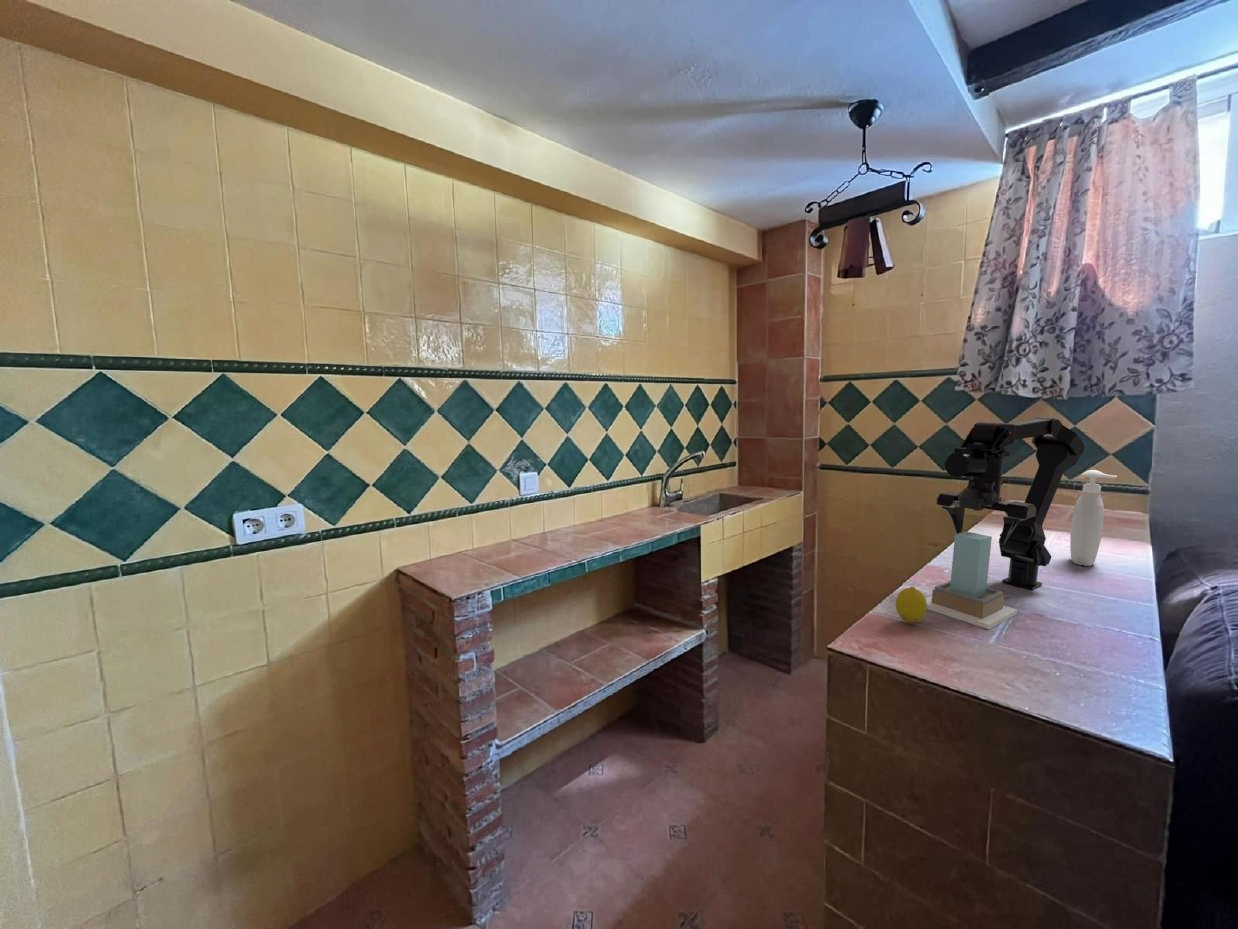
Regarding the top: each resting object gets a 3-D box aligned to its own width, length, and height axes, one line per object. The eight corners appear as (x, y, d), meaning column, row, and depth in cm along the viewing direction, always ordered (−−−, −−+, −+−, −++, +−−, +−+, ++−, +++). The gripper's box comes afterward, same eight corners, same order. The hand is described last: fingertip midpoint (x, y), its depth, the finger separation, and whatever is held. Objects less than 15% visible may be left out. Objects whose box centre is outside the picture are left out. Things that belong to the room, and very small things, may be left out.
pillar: (960, 586, 115) (966, 531, 113) (985, 594, 110) (991, 536, 109) (949, 591, 112) (955, 534, 110) (974, 598, 108) (980, 539, 106)
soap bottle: (1106, 572, 137) (1120, 474, 133) (1067, 566, 142) (1078, 471, 138) (1103, 560, 147) (1115, 469, 144) (1066, 554, 153) (1077, 466, 149)
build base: (947, 593, 121) (949, 574, 121) (1017, 614, 110) (1019, 593, 109) (917, 605, 114) (919, 585, 113) (988, 629, 102) (990, 607, 102)
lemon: (929, 631, 101) (932, 593, 100) (899, 628, 102) (902, 591, 101) (919, 619, 107) (922, 583, 106) (890, 617, 108) (893, 581, 107)
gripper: (927, 473, 122) (922, 535, 124) (1020, 484, 107) (1012, 555, 109) (950, 470, 128) (944, 529, 130) (1040, 480, 113) (1032, 547, 115)
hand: (980, 539), depth 121 cm, fingers open, 9 cm apart
